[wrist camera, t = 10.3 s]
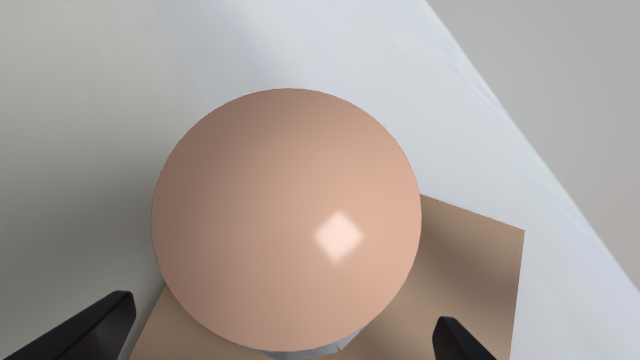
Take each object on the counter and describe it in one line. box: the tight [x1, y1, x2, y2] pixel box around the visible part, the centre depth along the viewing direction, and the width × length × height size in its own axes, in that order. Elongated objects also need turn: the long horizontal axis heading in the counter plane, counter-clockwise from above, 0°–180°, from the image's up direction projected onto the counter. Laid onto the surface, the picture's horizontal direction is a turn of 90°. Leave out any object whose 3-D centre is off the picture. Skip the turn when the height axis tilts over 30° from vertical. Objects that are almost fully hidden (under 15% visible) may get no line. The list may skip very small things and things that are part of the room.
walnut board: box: [128, 194, 525, 360], centre depth 16 cm, size 18×18×1 cm
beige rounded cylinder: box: [151, 88, 422, 352], centre depth 11 cm, size 5×5×12 cm
